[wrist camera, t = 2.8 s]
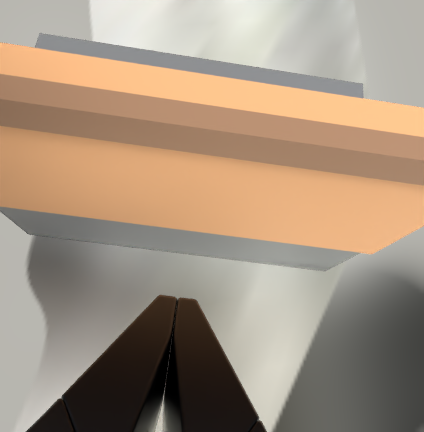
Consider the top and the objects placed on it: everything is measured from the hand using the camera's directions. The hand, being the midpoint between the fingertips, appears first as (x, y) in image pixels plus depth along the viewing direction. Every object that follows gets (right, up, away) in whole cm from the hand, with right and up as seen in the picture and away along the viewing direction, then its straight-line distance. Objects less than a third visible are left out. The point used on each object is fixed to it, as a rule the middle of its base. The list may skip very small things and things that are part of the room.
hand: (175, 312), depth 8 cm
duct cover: (0, +4, +3) cm, 5 cm away
